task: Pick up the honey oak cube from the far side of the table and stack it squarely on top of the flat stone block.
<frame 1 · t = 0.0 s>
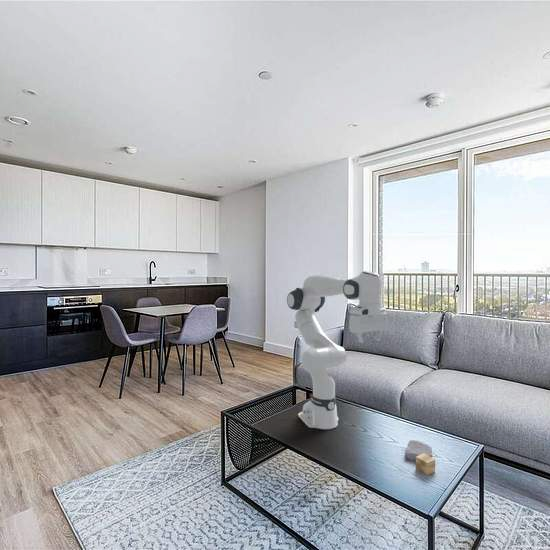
hand: (369, 341, 149), 48 cm above the table, tool pointing down, fingers open, 8 cm apart
stone block: (419, 456, 148), on the table
oak cube: (425, 470, 137), on the table
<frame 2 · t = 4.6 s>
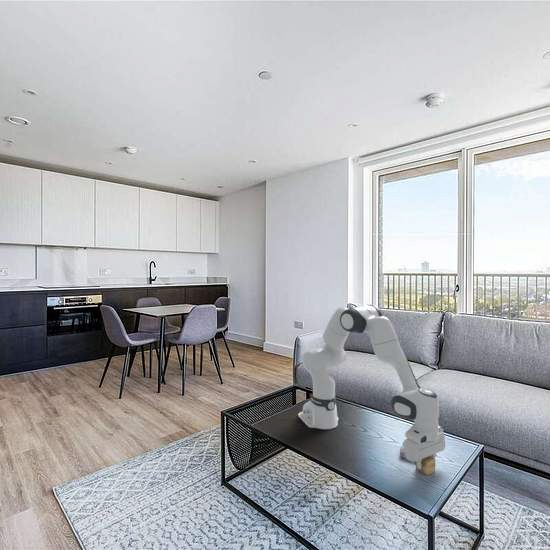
hand: (425, 465, 137), 2 cm above the table, tool pointing down, fingers closed on oak cube, 5 cm apart
stone block: (414, 455, 149), on the table
oak cube: (425, 470, 137), on the table, touching gripper
when the fingers open (7 cm above the table, at t = 10.1 s): oak cube drops 2 cm, resting on stone block.
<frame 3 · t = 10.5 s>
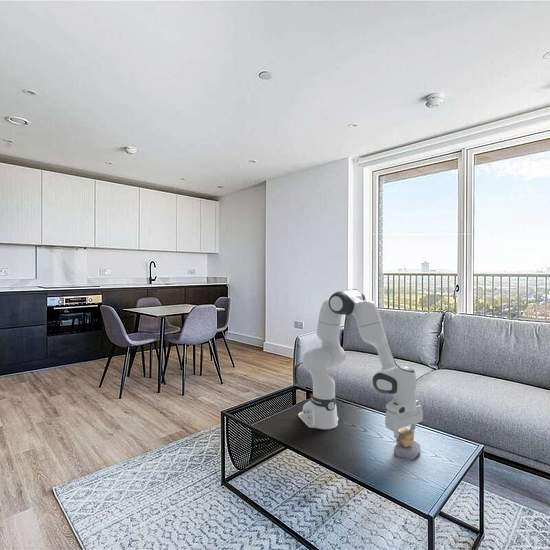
hand: (404, 435, 151), 7 cm above the table, tool pointing down, fingers open, 8 cm apart
stone block: (407, 453, 150), on the table, touching oak cube
oak cube: (404, 442, 151), point 4 cm above the table, tilted 5°, touching stone block
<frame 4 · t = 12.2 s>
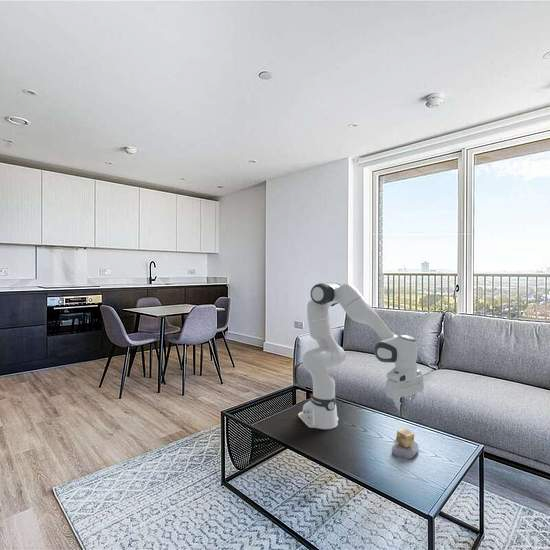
hand: (404, 404, 150), 20 cm above the table, tool pointing down, fingers open, 8 cm apart
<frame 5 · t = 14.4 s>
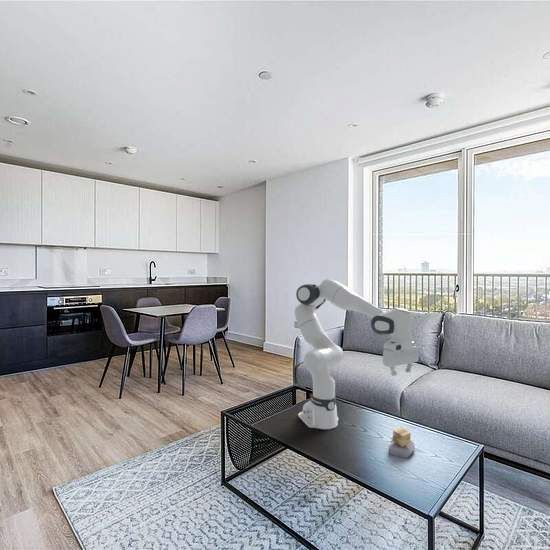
hand: (401, 373, 159), 31 cm above the table, tool pointing down, fingers open, 8 cm apart
stone block: (402, 452, 151), on the table, touching oak cube
oak cube: (401, 442, 151), point 4 cm above the table, touching stone block
at the end: oak cube inside the target area on the stone block (0.7 cm from its centre), point 4.4 cm above the stone block's base; oak cube tilted 4°; the gripper is holding nothing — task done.
